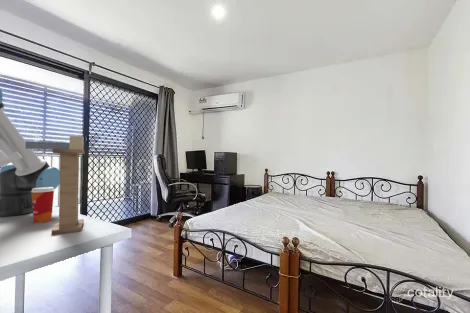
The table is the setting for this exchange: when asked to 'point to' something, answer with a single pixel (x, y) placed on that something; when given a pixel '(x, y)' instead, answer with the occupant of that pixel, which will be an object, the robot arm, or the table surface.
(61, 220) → the stand
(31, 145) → the gray and beige block
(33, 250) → the table surface
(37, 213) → the paper cup
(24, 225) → the table surface
